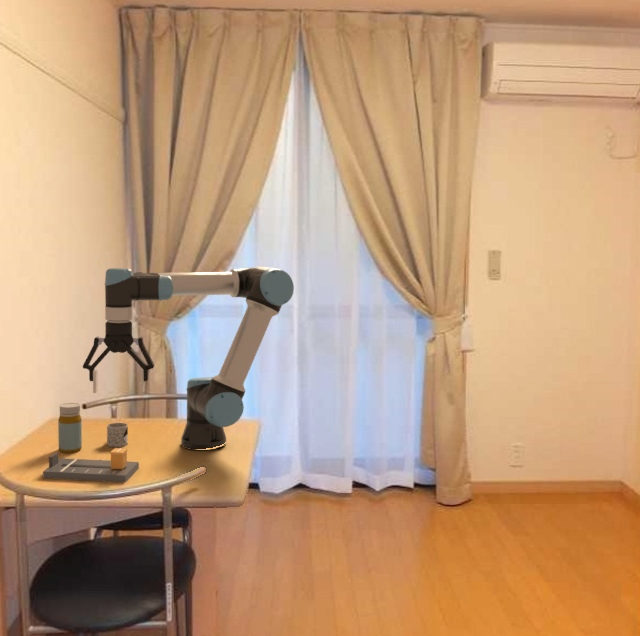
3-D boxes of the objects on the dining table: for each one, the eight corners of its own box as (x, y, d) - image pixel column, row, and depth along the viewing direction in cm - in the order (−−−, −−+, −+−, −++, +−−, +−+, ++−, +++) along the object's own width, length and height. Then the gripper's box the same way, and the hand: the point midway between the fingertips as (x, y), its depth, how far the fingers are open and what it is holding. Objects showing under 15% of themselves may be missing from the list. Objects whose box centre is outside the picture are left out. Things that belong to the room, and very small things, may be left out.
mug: (128, 446, 226) (128, 427, 225) (107, 448, 224) (107, 428, 223) (126, 438, 235) (126, 419, 235) (106, 439, 233) (106, 420, 232)
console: (138, 468, 205) (138, 452, 205) (125, 482, 193) (125, 465, 193) (60, 464, 206) (60, 448, 206) (43, 478, 194) (42, 461, 194)
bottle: (74, 454, 216) (73, 408, 214) (54, 452, 217) (53, 406, 216) (85, 448, 223) (85, 403, 221) (66, 446, 224) (66, 401, 223)
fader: (127, 465, 201) (127, 448, 200) (123, 469, 197) (123, 452, 196) (114, 464, 201) (114, 447, 200) (110, 468, 197) (110, 451, 197)
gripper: (163, 320, 204) (163, 388, 207) (77, 319, 201) (78, 389, 203) (161, 323, 197) (160, 394, 199) (71, 322, 193) (72, 394, 196)
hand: (119, 392), depth 201 cm, fingers open, 13 cm apart
